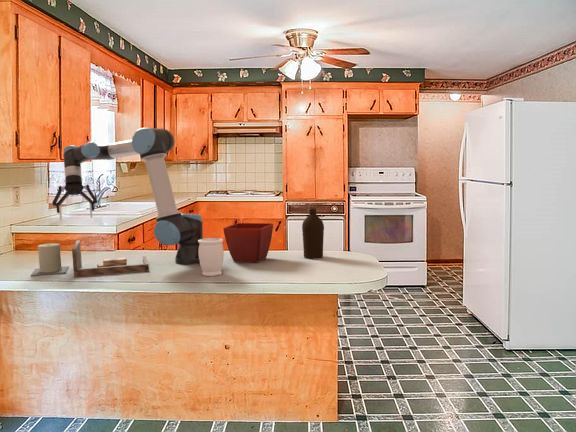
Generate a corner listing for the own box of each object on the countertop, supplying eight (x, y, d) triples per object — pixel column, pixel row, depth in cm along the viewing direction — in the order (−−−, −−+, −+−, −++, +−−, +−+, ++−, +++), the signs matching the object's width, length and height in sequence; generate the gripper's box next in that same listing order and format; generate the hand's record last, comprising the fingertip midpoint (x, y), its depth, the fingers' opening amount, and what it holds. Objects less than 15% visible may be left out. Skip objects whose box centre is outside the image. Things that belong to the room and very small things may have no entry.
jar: (199, 277, 215) (198, 242, 213) (198, 272, 225) (197, 238, 223) (225, 276, 217) (224, 240, 215) (223, 270, 227) (222, 237, 225)
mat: (68, 267, 241) (68, 266, 241) (65, 273, 227) (65, 272, 227) (35, 270, 236) (35, 268, 236) (30, 276, 223) (30, 275, 223)
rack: (146, 260, 254) (144, 236, 253) (148, 270, 230) (147, 244, 229) (78, 265, 245) (76, 240, 243) (73, 277, 221) (72, 249, 219)
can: (38, 273, 226) (36, 246, 225) (40, 269, 235) (38, 243, 233) (61, 271, 230) (59, 244, 228) (62, 267, 238) (60, 241, 237)
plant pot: (223, 263, 244) (222, 227, 242) (239, 255, 262) (238, 222, 260) (261, 264, 239) (260, 228, 237) (274, 257, 257) (274, 223, 255)
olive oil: (312, 260, 247) (311, 208, 244) (298, 257, 255) (297, 206, 252) (328, 257, 254) (328, 206, 251) (314, 254, 262) (313, 205, 259)
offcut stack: (130, 268, 238) (130, 256, 237) (132, 270, 233) (131, 258, 232) (96, 271, 232) (95, 260, 231) (96, 274, 227) (96, 262, 226)
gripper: (100, 178, 261) (103, 218, 256) (46, 180, 252) (48, 222, 247) (100, 172, 254) (103, 214, 249) (44, 175, 245) (46, 218, 240)
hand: (76, 218), depth 248 cm, fingers open, 13 cm apart
